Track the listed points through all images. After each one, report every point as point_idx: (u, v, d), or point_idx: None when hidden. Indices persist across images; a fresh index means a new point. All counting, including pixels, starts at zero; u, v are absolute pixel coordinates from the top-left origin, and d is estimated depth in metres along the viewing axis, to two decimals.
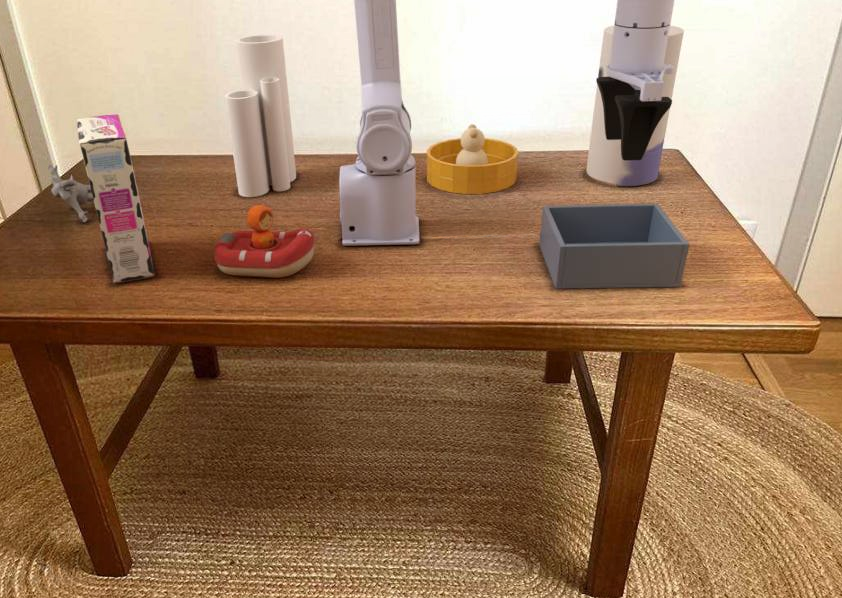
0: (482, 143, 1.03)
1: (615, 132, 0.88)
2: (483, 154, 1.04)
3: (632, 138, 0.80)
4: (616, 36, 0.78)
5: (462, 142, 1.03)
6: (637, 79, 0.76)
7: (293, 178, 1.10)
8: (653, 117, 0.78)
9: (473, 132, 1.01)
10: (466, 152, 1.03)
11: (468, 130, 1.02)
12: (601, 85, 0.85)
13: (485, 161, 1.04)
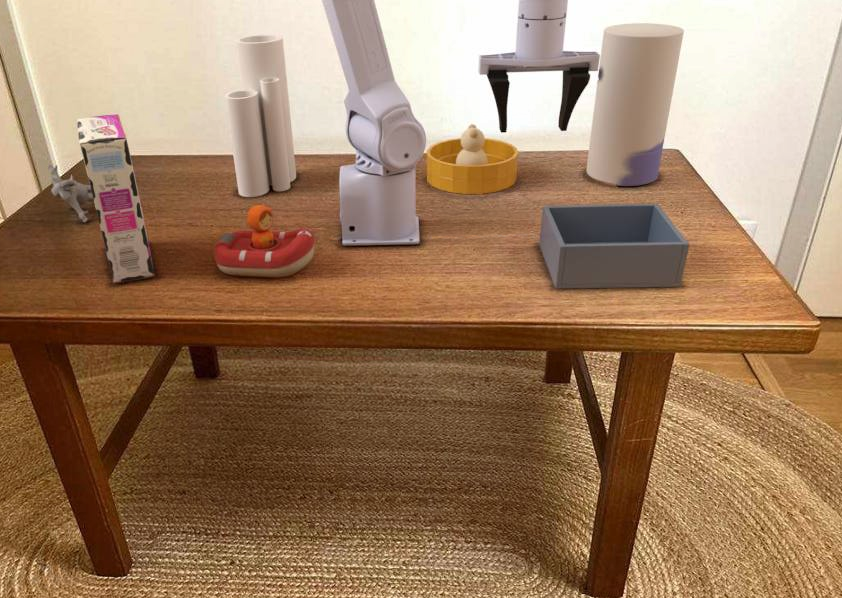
0: (482, 143, 1.03)
1: None
2: (483, 154, 1.04)
3: None
4: (551, 29, 0.85)
5: (462, 142, 1.03)
6: (585, 56, 0.88)
7: (293, 178, 1.10)
8: None
9: (473, 132, 1.01)
10: (466, 152, 1.03)
11: (468, 130, 1.02)
12: (509, 84, 0.89)
13: (485, 161, 1.04)
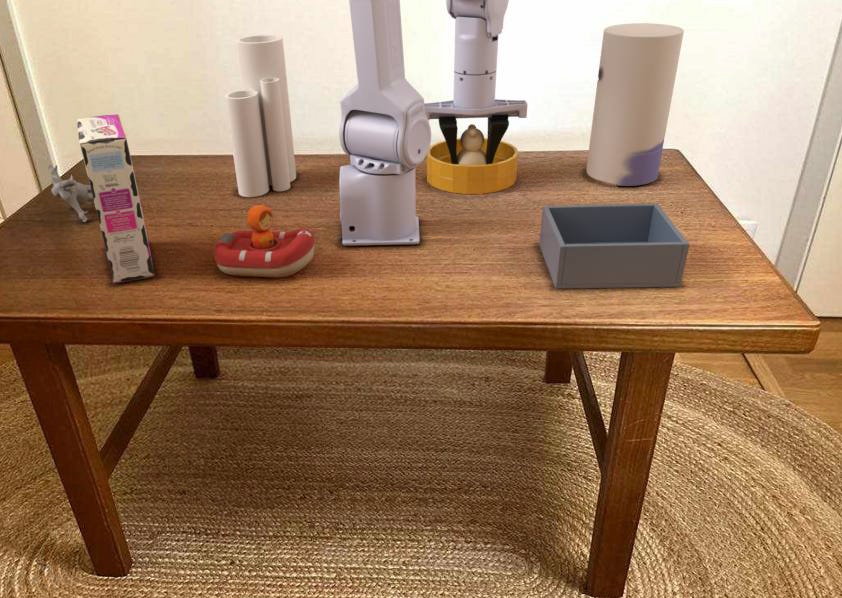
0: (482, 143, 1.03)
1: None
2: (483, 154, 1.04)
3: None
4: (482, 83, 0.97)
5: (462, 142, 1.03)
6: (514, 105, 0.99)
7: (293, 178, 1.10)
8: None
9: (473, 132, 1.01)
10: (465, 152, 1.03)
11: (468, 130, 1.02)
12: None
13: (485, 161, 1.04)
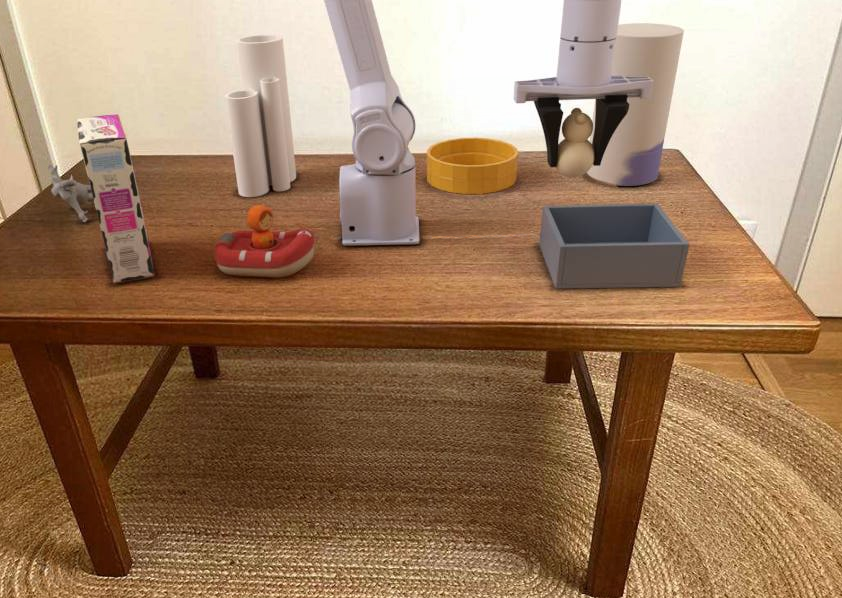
0: (591, 131, 0.81)
1: None
2: (591, 146, 0.82)
3: None
4: (600, 52, 0.74)
5: (565, 130, 0.81)
6: (637, 82, 0.77)
7: (293, 178, 1.10)
8: None
9: (581, 117, 0.79)
10: (569, 143, 0.81)
11: (573, 115, 0.80)
12: (562, 113, 0.78)
13: (593, 155, 0.82)
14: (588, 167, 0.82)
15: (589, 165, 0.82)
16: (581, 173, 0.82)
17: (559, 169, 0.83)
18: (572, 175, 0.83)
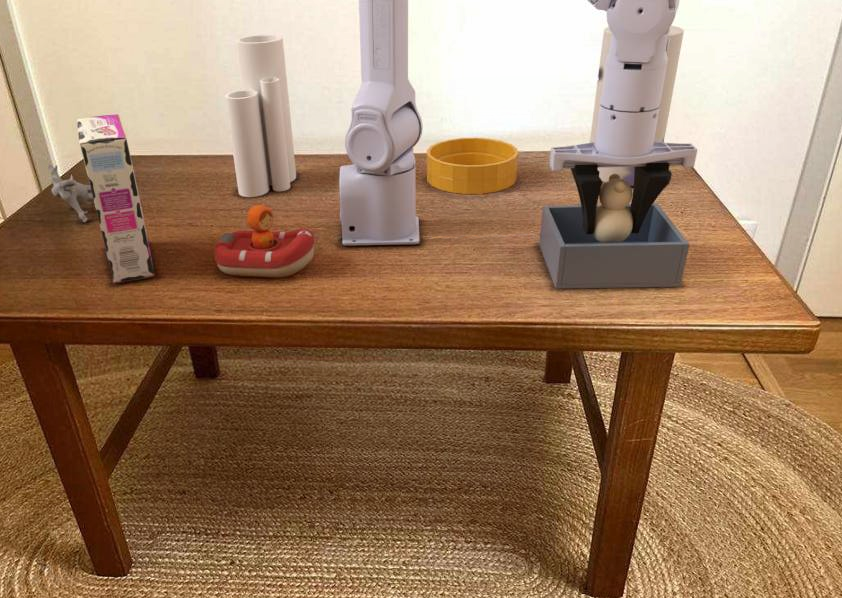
0: (630, 199, 0.77)
1: None
2: (629, 213, 0.78)
3: None
4: (643, 122, 0.71)
5: (603, 198, 0.77)
6: (680, 151, 0.74)
7: (293, 178, 1.10)
8: None
9: (621, 186, 0.76)
10: (606, 211, 0.78)
11: (612, 182, 0.77)
12: (601, 182, 0.75)
13: (632, 223, 0.78)
14: (626, 235, 0.79)
15: (627, 233, 0.79)
16: (619, 241, 0.79)
17: (596, 236, 0.80)
18: None
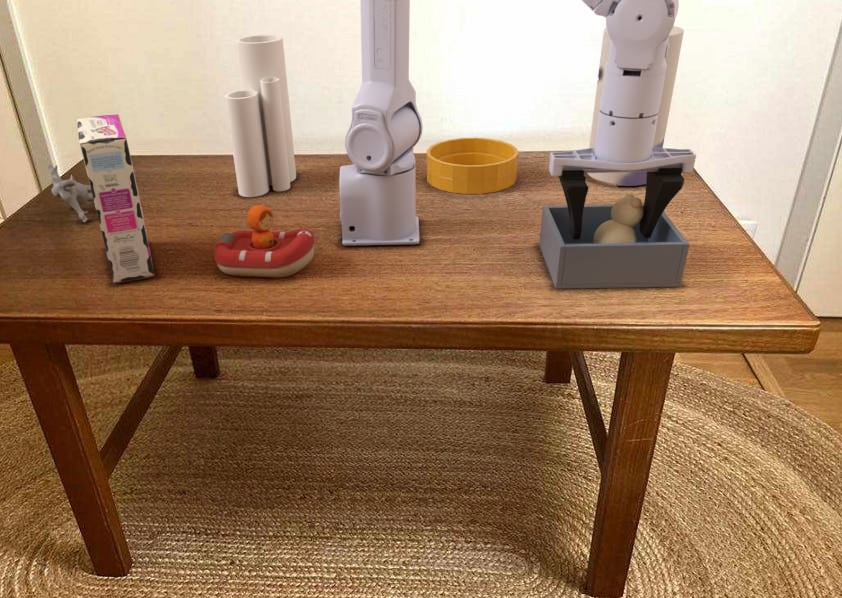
0: (640, 219, 0.79)
1: None
2: (635, 233, 0.80)
3: None
4: (641, 128, 0.71)
5: (616, 210, 0.79)
6: (679, 157, 0.74)
7: (293, 178, 1.10)
8: None
9: (637, 201, 0.78)
10: (616, 224, 0.80)
11: (628, 198, 0.79)
12: (587, 188, 0.75)
13: None
14: None
15: None
16: None
17: None
18: None
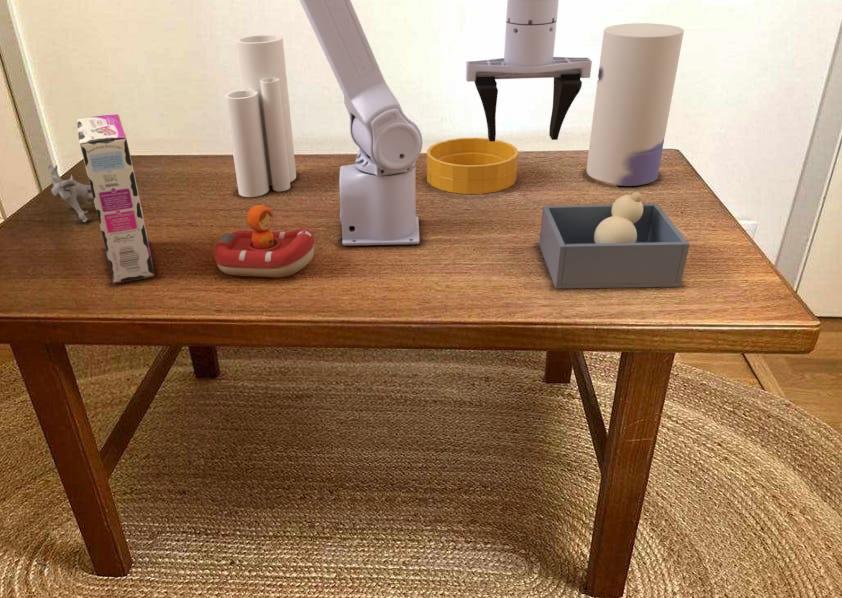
0: (640, 215, 0.81)
1: None
2: (635, 229, 0.81)
3: None
4: (540, 34, 0.82)
5: (617, 203, 0.81)
6: (577, 62, 0.85)
7: (293, 178, 1.10)
8: None
9: (638, 193, 0.80)
10: (617, 216, 0.81)
11: (628, 195, 0.82)
12: (497, 91, 0.85)
13: (636, 237, 0.81)
14: None
15: None
16: None
17: (600, 237, 0.81)
18: None
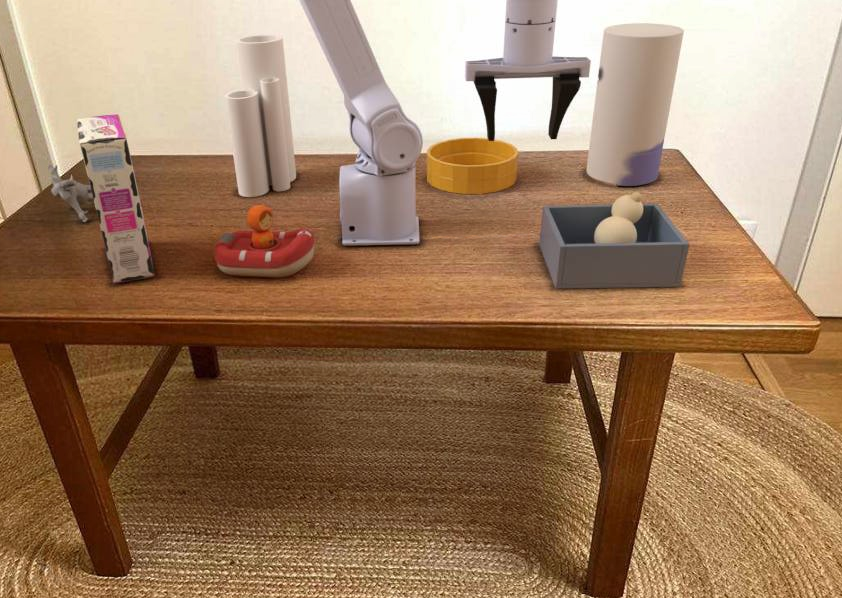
0: (640, 215, 0.81)
1: None
2: (635, 229, 0.81)
3: None
4: (539, 34, 0.82)
5: (617, 203, 0.81)
6: (576, 62, 0.85)
7: (293, 178, 1.10)
8: None
9: (638, 193, 0.80)
10: (617, 216, 0.81)
11: (628, 195, 0.82)
12: (496, 91, 0.86)
13: (636, 237, 0.81)
14: None
15: None
16: None
17: (600, 237, 0.81)
18: None
